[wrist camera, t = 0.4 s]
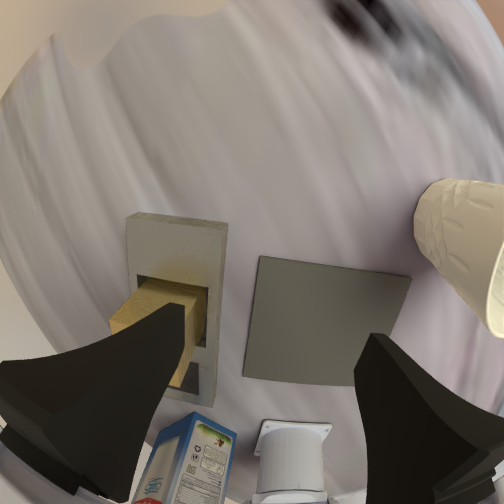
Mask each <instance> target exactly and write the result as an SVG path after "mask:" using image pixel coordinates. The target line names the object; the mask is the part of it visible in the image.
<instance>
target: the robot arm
mask: <svg viewBox="0 0 504 504" xmlns="http://www.w3.org/2000/svg"><path fill="white" fill-rule="evenodd" d="M184 348H185V305H181V304H177V303H172V302H169V303H167V304H166V305H164V306H162V307H161V308H159V309H157V310H156V311H154V312H153V313H151V314H149V315H148V316H146V317H144V318H143V319H141V320H139V321H137V322H136V323H134V324H132V325H131V326H129V327H127V328H125V329H123V330H121V331H119V332H117V333H115V334H113V335H111V336H109V337H107V338H105V339H103V340H100V341H98V342H95V343H93V344H90V345H88V346H85V347H82V348H78V349H75V350H72V351H68V352H65V353H61V354H57V355H52V356H48V357H41V358H35V359H27V360H12V361H11V360H9V361H2V362H1V363H0V415H1V417H2V418H3V419H4V420H5V422H6V423H7V425H6V426H5V428H4V429H3V428H2V426H1V425H0V504H114V503H112V502H110V501H107V500H106V499H110V500H113V501H115V502H117V503H124V502H127V501H128V500H129V494H130V490H131V486H132V482H133V477H134V473H135V470H136V466H137V462H138V459H139V455H140V452H141V449H142V446H143V443H144V440H145V437H146V434H147V431H148V428H149V425H150V423H151V420H152V417H153V415H154V413H155V410H156V408H157V406H158V404H159V402H160V401H161V399H162V397H163V395H164V393H165V391H166V389H167V387H168V385H169V383H170V381H171V379H172V377H173V375H174V373H175V371H176V369H177V367H178V365H179V362H180V359H181V356H182V353H183V350H184ZM354 383H355V392H356V396H357V401H358V405H359V410H360V414H361V418H362V423H363V427H364V432H365V438H366V444H367V462H368V482H367V496H366V504H504V475H503V476H502V477H500V478H499V479H497V480H496V481H494V482H493V481H492V477H493V476H495V474H496V471H495V469H494V467H496V466H497V465H498V464H499V463H500V462H501V461H503V460H504V418H503V417H500V416H497V415H494V414H492V413H489V412H487V411H485V410H482V409H480V408H478V407H476V406H474V405H472V404H471V403H469V402H467V401H466V400H464V399H462V398H460V397H459V396H457V395H456V394H454V393H453V392H451V391H450V390H449V389H447V388H446V387H444V386H443V385H442V384H440V383H439V382H438V381H437V380H435V379H434V378H433V377H432V376H431V375H430V374H428V373H427V372H426V371H425V370H424V369H423V368H421V367H420V366H419V365H418V364H417V363H416V362H415V361H414V360H413V359H412V358H411V357H410V356H409V355H407V354H406V353H405V352H404V351H403V350H402V349H401V348H400V347H399V346H398V345H397V344H396V343H395V342H393V341H392V340H391V339H390V338H389V337H388V336H386V335H385V334H383V333H370V335H369V337H368V340H367V342H366V344H365V346H364V349H363V351H362V353H361V355H360V357H359V359H358V362H357V364H356V366H355V368H354ZM331 429H332V425H331V424H316V423H296V422H282V421H272V420H265V421H264V422H263V425H262V428H261V431H260V435H259V438H258V441H257V444H256V447H255V451H254V455H255V456H260V463H259V472H258V481H257V490H256V494H253V495H252V500H247V501H245V502H244V503H243V504H339V503H338V502H337V501H336V500H334V498H327V492H324V478H323V459H322V442H323V441H324V439H325V438H326V436H327V435H328V433H329V432H330V430H331ZM99 495H100V496H102V497H104V498H106V499H103V498H101V497H99Z"/></svg>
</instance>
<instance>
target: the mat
mask: <svg viewBox="0 0 504 504" xmlns="http://www.w3.org/2000/svg"><path fill="white" fill-rule="evenodd" d="M411 280H412V278H411V277H406V276H399V275H392V274H385V273H378V272H371V271H364V270H357V269H350V268H343V267H336V266H330V265H323V264H316V263H309V262H302V261H295V260H288V259H281V258H274V257H268V256H260V263H259V270H258V277H257V284H256V291H255V298H254V305H253V312H252V319H251V326H250V333H249V339H248V346H247V353H246V360H245V366H244V373H243V377H249V378H256V379H263V380H271V381H280V382H289V383H300V384H313V385H330V386H355V383H354V368H355V366H356V364H357V362H358V359H359V357H360V355H361V353H362V351H363V349H364V346H365V344H366V342H367V340H368V337H369V335H370V333H383V334H385V335H386V336H388V337H389V336H390V334H391V331H392V329H393V327H394V324H395V322H396V320H397V317H398V315H399V312H400V310H401V307H402V305H403V302H404V299H405V297H406V294H407V291H408V289H409V286H410V283H411Z"/></svg>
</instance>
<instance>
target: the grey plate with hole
mask: <svg viewBox="0 0 504 504" xmlns="http://www.w3.org/2000/svg"><path fill="white" fill-rule="evenodd" d="M126 227H127V253H128V269H129V281H130V292H131V296H132V295H133V294H134V293H135V292H136V290H137V289H138V288H139V287H140V286H141V285H142V284H143V283H144V282H145V281H146V280H147V276H149V277H154V278H159V279H164V280H169V281H175V282H180V283H186V284H191V285H197V286H202V287H208V307H207V333H206V334H204V333H202V335H201V337H200V340H199V342H198V344H197V347H196V349H195V351H194V354H193V356H192V359H191V361H190V363H189V366H188V368H187V371H186V373H185V376H184V378H183V380H182V383H181V385H180V388H179V387H175V386H171V385H168V387H167V389H166V391H165V393H164V395H163V396H165V397H169V398H173V399H176V400H180V401H184V402H189V403H193V404H197V405H202V406H206V407H211V408H212V407H213V403H214V399H215V396H216V380H217V362H218V345H219V330H220V315H221V302H222V289H223V276H224V264H225V253H226V242H227V231H228V223H222V222H215V221H207V220H199V219H191V218H183V217H175V216H166V215H158V214H149V213H140V212H138V213H136V214H134V215H131V216H129V217H127V218H126Z"/></svg>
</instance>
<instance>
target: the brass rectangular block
mask: <svg viewBox="0 0 504 504" xmlns="http://www.w3.org/2000/svg"><path fill="white" fill-rule="evenodd" d="M205 299H206V287H202V286H197V285H191V284H186V283H180V282H175V281H169V280H164V279H159V278H154V277H149V278H148V279H147V280H146V281H145V282H144V283H143V284H142V285H141V286H140V287H139V288H138V289H137V290H136V292H135V293H134V294H133V295H132V296H131V297H130V298H129V299H128V300H127V301H126V302H125V303H124V304H123V305H122V306H121V307H120V308H119V310H118V311H117V312H116V313H115V314H114V315H113V316H112V317H111V318H110V319H109V322H110V327H111V332H112V335H113V334H115V333H117V332H119V331H121V330H123V329H125V328H127V327H129V326H131V325H132V324H134V323H136V322H137V321H139V320H141V319H143V318H144V317H146V316H148V315H149V314H151V313H153V312H154V311H156V310H157V309H159V308H161V307H162V306H164V305H166V304H167V303H169V302H172V303H177V304H181V305H185V348H184V350H183V353H182V356H181V359H180V362H179V365H178V367H177V369H176V371H175V373H174V375H173V377H172V379H171V381H170V383H169V385H171V386H175V387H179V388H180V385H181V383H182V380H183V378H184V376H185V373H186V371H187V368H188V366H189V363H190V361H191V359H192V356H193V354H194V351H195V349H196V347H197V344H198V342H199V340H200V337H201V335H202V332H203V330H204V327H205Z"/></svg>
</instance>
